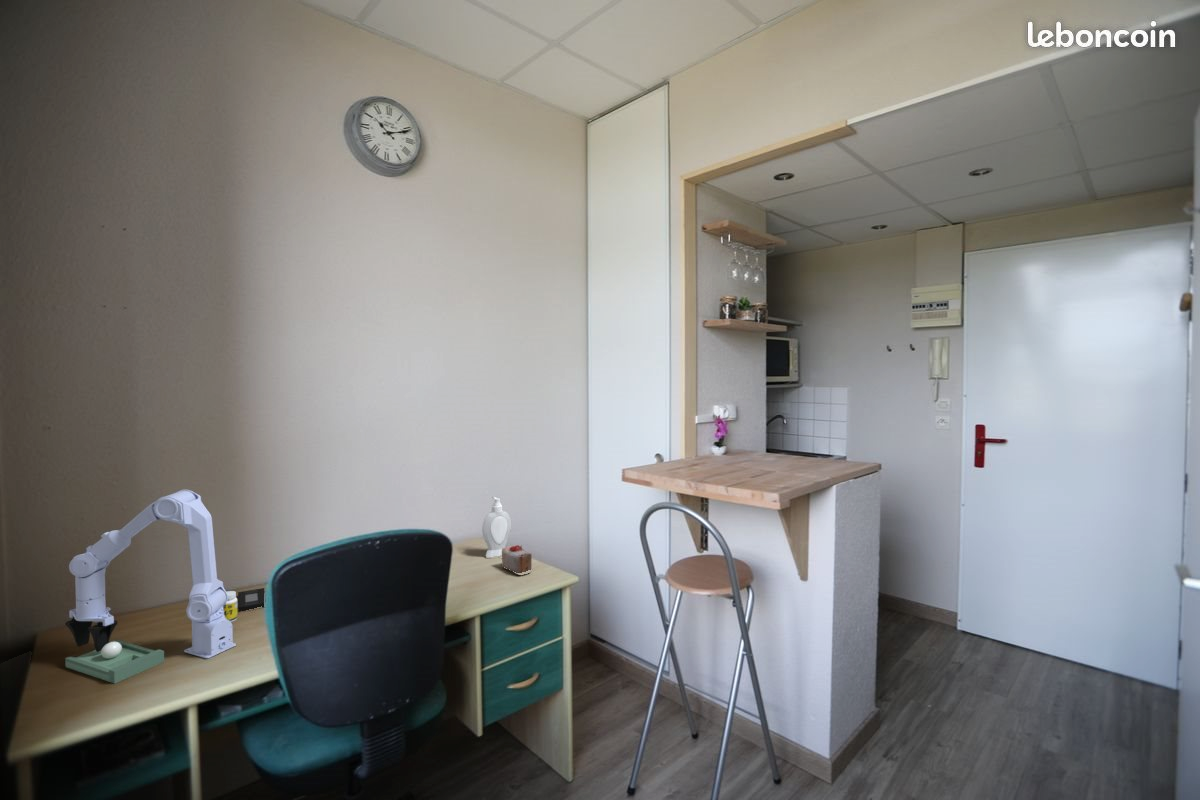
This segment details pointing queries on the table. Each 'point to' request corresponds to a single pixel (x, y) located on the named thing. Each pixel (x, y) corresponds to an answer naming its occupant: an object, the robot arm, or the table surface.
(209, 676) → the table surface
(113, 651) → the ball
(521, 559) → the food item
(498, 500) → the soap bottle
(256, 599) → the vhs tape
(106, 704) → the table surface
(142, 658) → the green tray
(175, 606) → the table surface
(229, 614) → the supplement bottle
